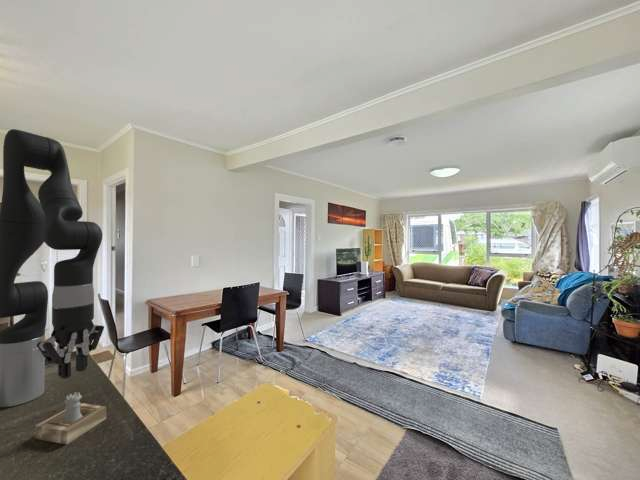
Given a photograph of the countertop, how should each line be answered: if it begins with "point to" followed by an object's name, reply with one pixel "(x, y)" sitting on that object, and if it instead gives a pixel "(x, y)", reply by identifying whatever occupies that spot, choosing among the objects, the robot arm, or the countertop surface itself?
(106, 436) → the countertop surface
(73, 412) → the rook chess piece
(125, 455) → the countertop surface
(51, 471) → the countertop surface
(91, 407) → the socket block
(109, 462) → the countertop surface
